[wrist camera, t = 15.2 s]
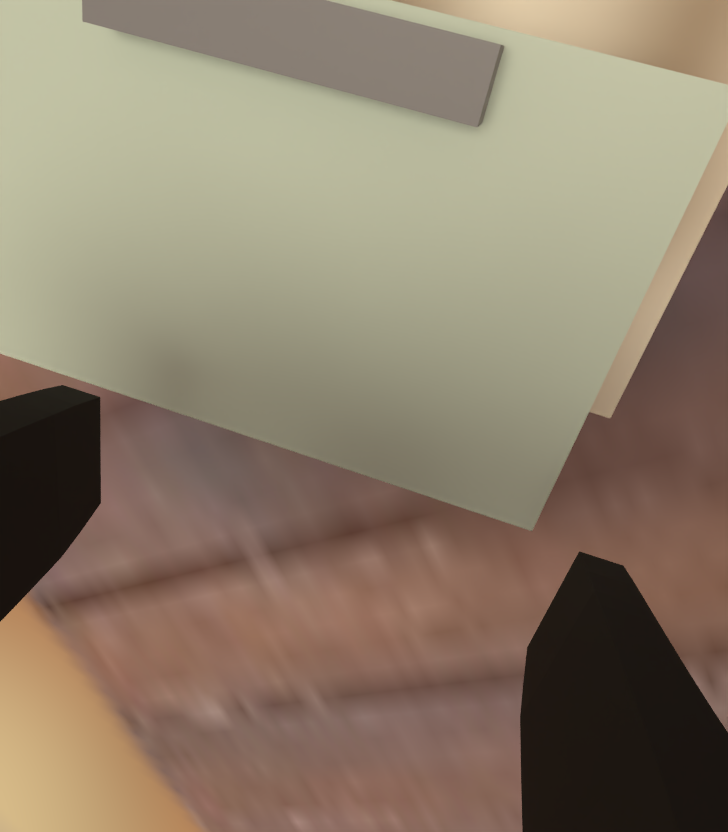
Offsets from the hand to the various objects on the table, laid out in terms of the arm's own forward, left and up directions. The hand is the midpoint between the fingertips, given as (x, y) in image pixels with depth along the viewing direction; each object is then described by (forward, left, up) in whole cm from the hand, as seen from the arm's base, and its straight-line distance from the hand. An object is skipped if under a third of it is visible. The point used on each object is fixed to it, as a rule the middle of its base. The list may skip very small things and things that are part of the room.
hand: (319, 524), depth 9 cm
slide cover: (+3, -3, -8) cm, 9 cm away
